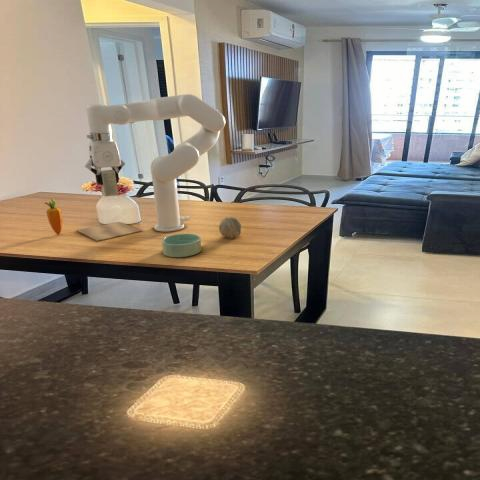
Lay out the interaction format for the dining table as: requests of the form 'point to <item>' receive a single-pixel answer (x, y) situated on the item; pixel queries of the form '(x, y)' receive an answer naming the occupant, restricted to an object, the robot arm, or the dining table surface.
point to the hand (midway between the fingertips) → (108, 183)
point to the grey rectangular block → (108, 183)
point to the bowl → (181, 245)
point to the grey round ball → (230, 227)
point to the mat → (108, 231)
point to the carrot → (54, 217)
